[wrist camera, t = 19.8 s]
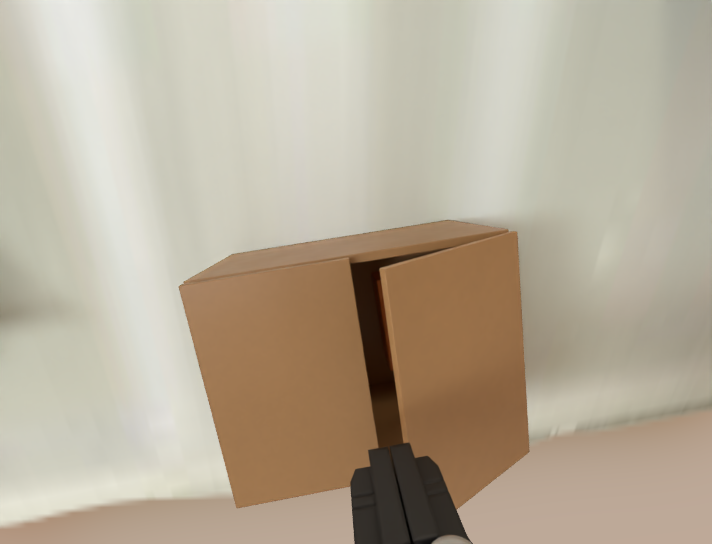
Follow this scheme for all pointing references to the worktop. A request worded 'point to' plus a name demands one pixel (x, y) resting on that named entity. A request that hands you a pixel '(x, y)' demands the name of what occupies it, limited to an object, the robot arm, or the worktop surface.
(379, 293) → the block
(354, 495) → the robot arm
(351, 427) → the open shipping carton
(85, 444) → the worktop surface
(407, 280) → the cardboard box flap
